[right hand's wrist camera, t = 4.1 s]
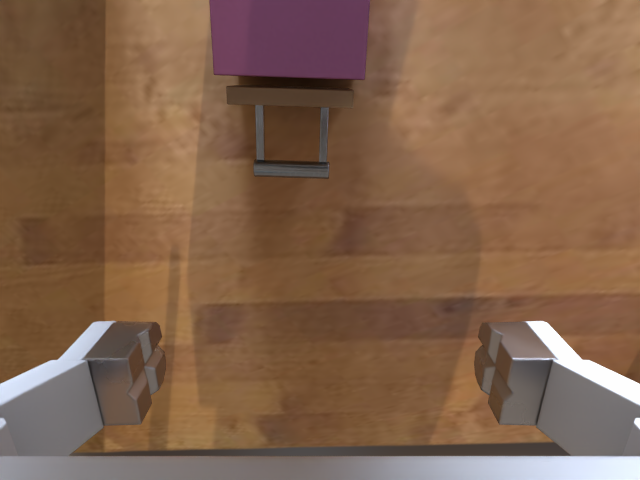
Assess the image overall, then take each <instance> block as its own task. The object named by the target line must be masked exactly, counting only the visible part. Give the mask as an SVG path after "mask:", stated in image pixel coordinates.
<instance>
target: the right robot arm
mask: <svg viewBox="0 0 640 480" xmlns="http://www.w3.org/2000/svg"><path fill="white" fill-rule="evenodd" d="M161 338H162V334H161V330H160V325H159V324H158V323H157V322H128V321H117V322H116V321H97V322H93V323H92V324H91V325H90V326H89V327H88V328H87V329H86V331H85V332H84V333H83V334H82V335H81V336H80V337H79V338H78V339H77V340H76V341H75V342H74V343H73V344H72V345H71V346H70V348H69V349H68V350H67V351H66V352H65V353H64V354H63V355H62V356H61V357H60V358H59V359H58V360H50V361H48V362H46V363H44V364H42V365H40V366H37V367H35V368H33V369H31V370H29V371H27V372H25V373H22V374H20V375H18V376H16V377H14V378H12V379H10V380H7V381H5V382H3V383H1V384H0V480H640V384H639V383H637V382H635V381H632V380H630V379H628V378H626V377H624V376H622V375H620V374H618V373H615V372H613V371H611V370H609V369H607V368H605V367H603V366H600V365H598V364H596V363H594V362H592V361H590V360H582V359H581V358H580V357H579V356H578V355H577V354H576V353H575V352H574V351H573V350H572V349H571V347H570V346H569V345H568V344H567V343H566V342H565V341H564V340H563V339H562V338H561V337H560V336H559V335H558V334H557V333H556V332H555V330H554V329H553V328H552V327H551V326H550V325H549V324H548V323H546V322H544V321H525V322H492V323H482V324H481V326H480V329H479V334H478V338H479V339H480V341H481V343H482V344H483V345H482V346H481V347H480V348H479V349H478V350H477V351H476V352H475V360H474V368H475V376H476V379H477V382H478V384H479V386H480V388H481V390H482V391H484V392H485V393H487V394H488V395H489V401H488V404H489V406H490V408H491V410H492V412H493V413H494V415H495V417H496V419H497V421H498V423H499V424H501V425H537V426H536V427H537V428H538V429H539V430H540V431H542V432H543V433H544V434H545V435H547V436H548V437H549V438H550V439H551V440H553V441H554V442H555V443H556V444H558V445H559V446H560V447H561V448H563V449H564V450H565V451H566V452H568V453H569V454H570V455H571V456H69V455H70V454H71V453H73V452H74V451H75V450H76V449H78V448H79V447H80V446H81V445H82V444H84V443H85V442H86V441H87V440H89V439H90V438H91V437H92V436H94V435H95V434H96V433H97V432H99V431H100V430H101V429H102V428H104V426H103V425H137V424H141V423H142V421H143V419H144V417H145V415H146V413H147V412H148V410H149V408H150V406H151V404H152V401H151V395H152V394H153V393H155V392H156V391H158V390H159V388H160V386H161V384H162V382H163V379H164V375H165V370H166V359H165V352H164V351H163V350H162V349H161V348H160V347H159V346H158V345H157V344H158V343H159V341H160V339H161Z"/></svg>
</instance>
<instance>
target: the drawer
mask: <svg viewBox="0 0 640 480" xmlns="http://www.w3.org/2000/svg"><path fill="white" fill-rule="evenodd" d="M226 89H227V104H237V105H255V116H256V155H257V160H256V159H255V160H254V168H253V169H254V176H255V177H284V178H314V179H329V162H327V141H328V114H329V108H353V102H354V91H353V90H351V89H349V88H329V87H299V86H269V85H234V86H227V87H226ZM264 105H267V106H297V107H321V114H320V147H319V162H316V161H286V160H264V159H265V129H264Z"/></svg>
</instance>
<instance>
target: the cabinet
mask: <svg viewBox="0 0 640 480" xmlns="http://www.w3.org/2000/svg"><path fill="white" fill-rule="evenodd" d="M369 7H370V0H210V17H211V34H212V51H213V68H214V75H231V76H261V77H291V78H321V79H350V80H364V79H365V67H366V52H367V37H368V22H369Z"/></svg>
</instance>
